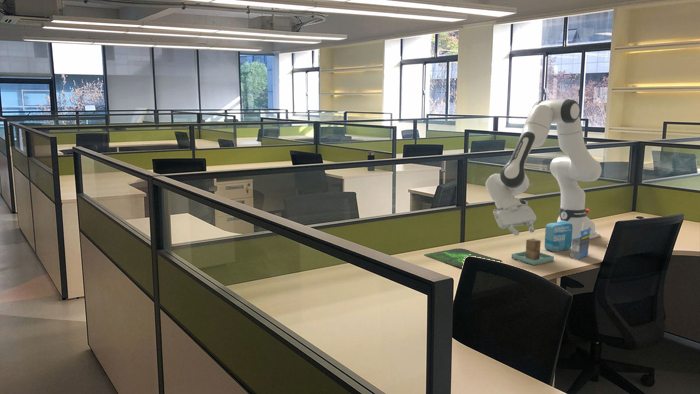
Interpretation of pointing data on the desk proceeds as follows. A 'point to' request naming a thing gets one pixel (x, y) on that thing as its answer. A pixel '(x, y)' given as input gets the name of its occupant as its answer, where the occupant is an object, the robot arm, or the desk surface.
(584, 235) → the label tape box
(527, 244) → the walnut block
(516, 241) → the desk surface
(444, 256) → the mouse mat
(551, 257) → the teal tray
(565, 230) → the blue soap box
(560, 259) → the desk surface
